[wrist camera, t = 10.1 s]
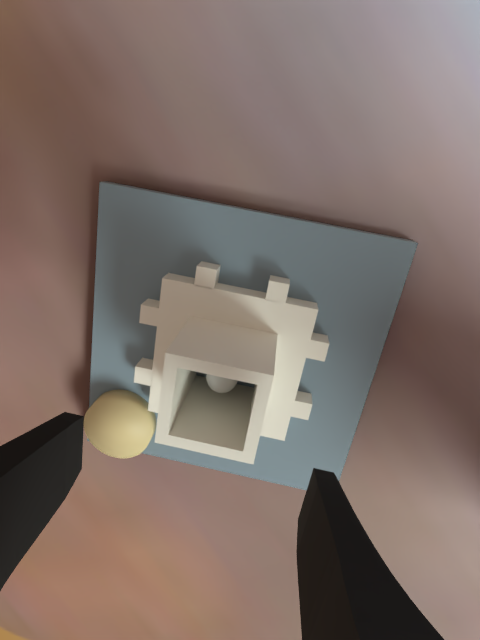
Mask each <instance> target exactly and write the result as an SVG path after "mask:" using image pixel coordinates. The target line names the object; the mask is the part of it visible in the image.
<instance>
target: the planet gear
mask: <svg viewBox="0 0 480 640" xmlns="http://www.w3.org/2000/svg"><path fill="white" fill-rule="evenodd" d="M220 266H221V265H218V264H213V263H208V262H203V261H201V262H200V263H199V264H198V265H197V267H196V274H195V278H192V277H187V276H182V275H177V274H172V273H168V274H167V275H165V276H164V277H163V278H162V285H161V294H160V301H158V300H153V299H147V300H146V301H145V302H143V303H142V304H141V309H140V320H139V323H142V324H147V325H152V326H157V331H156V340H155V349H154V358H153V360H151V359H147V358H142V359H141V360H140V361H139V362H138V364H137V365H136V366H135V375H134V383H139V384H143V385H148V386H150V395H149V404H148V411H151V412H155V413H158V418H157V426H156V434H155V443H159V444H164V445H168V446H173V447H177V448H182V449H186V450H190V451H195V452H199V453H204V454H208V455H213V456H217V457H222V458H226V459H231V460H235V461H239V462H244V463H248V464H254V460H255V456H256V451H257V447H258V443H259V438H260V436H264V437H269V438H273V439H278V440H282V441H285V437H286V433H287V429H288V425H289V421H290V418H291V417H295V418H300V419H304V420H308V419H309V416H310V412H311V408H312V405H313V404H312V394H310V393H306V392H301V391H298V387H299V383H300V379H301V375H302V371H303V368H304V364H305V360H306V358H309V359H314V360H319V361H324V362H325V358H326V355H327V351H328V347H329V340H328V335H323V334H318V333H313V329H314V325H315V321H316V317H317V314H318V305H317V303H315V302H310V301H305V300H300V299H295V298H290V297H287V295H288V290H289V286H290V279H288V278H283V277H278V276H273V275H270V279H269V284H268V288H267V293H266V292H261V291H256V290H251V289H246V288H241V287H236V286H231V285H226V284H221V283H218V279H219V272H220ZM196 372H200V373H205V374H209V375H214V376H219V377H223V378H228V379H233V380H237V381H242V382H247V383H251V384H255V386H254V388H253V387H248V386H243V385H239V384H236V386H235V387H234V388H233V389H232V390H231V391H229V392H226V393H218V392H215V391H213V390H212V389H211V388H210V387H209V385H208V383H207V380H206V377H202V376H197V375H196Z"/></svg>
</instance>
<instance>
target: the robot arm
mask: <svg viewBox="0 0 480 640" xmlns="http://www.w3.org/2000/svg"><path fill="white" fill-rule="evenodd" d="M83 423H84V416H80V415H76V414H71V413H67V412H64V413H62V414H60V415H58V416H56V417H54V418H53V419H51V420H49V421H47V422H45V423H43V424H41V425H40V426H38V427H36V428H34V429H32V430H30V431H29V432H27V433H25V434H23V435H21V436H19V437H17V438H15V439H13V440H11V441H9V442H8V443H6V444H4V445H2V446H0V591H1V589H2V587H3V586H4V584H5V582H6V581H7V579H8V578H9V576H10V575H11V573H12V572H13V571H14V569H15V568H16V566H17V565H18V563H19V562H20V561H21V559H22V558H23V556H24V555H25V554H26V552H27V551H28V550H29V548H30V547H31V545H32V544H33V543H34V541H35V540H36V539H37V537H38V536H39V534H40V533H41V532H42V530H43V529H44V528H45V526H46V525H47V523H48V522H49V521H50V519H51V518H52V516H53V515H54V514H55V512H56V511H57V509H58V508H59V507H60V505H61V504H62V502H63V501H64V500H65V498H66V496H67V494H68V493H69V491H70V489H71V487H72V486H73V484H74V482H75V480H76V478H77V476H78V475H79V473H80V471H81V469H82V447H83ZM297 568H298V584H299V599H300V614H301V629H302V640H444V639H443V638H442V636H441V635H440V634H439V633H438V632H437V631H436V629H435V628H434V627H433V626H432V625H431V624H430V622H429V621H428V620H427V619H426V618H425V616H424V615H423V614H422V613H421V612H420V610H419V609H418V608H417V607H416V605H415V604H414V603H413V602H412V600H411V599H410V598H409V596H408V595H407V594H406V592H405V591H404V590H403V588H402V587H401V586H400V584H399V583H398V582H397V580H396V579H395V577H394V576H393V574H392V573H391V572H390V570H389V569H388V567H387V566H386V564H385V563H384V561H383V559H382V558H381V556H380V555H379V553H378V552H377V550H376V549H375V547H374V545H373V544H372V542H371V540H370V539H369V537H368V535H367V533H366V532H365V530H364V528H363V527H362V525H361V523H360V521H359V520H358V518H357V516H356V514H355V512H354V510H353V509H352V507H351V505H350V503H349V501H348V499H347V497H346V495H345V493H344V491H343V489H342V487H341V485H340V483H339V481H338V479H337V477H336V475H335V474H334V472H330V471H325V470H321V469H316V468H313V471H312V475H311V478H310V481H309V485H308V488H307V491H306V495H305V498H304V501H303V505H302V508H301V511H300V515H299V518H298V533H297Z"/></svg>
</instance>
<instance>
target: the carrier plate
mask: <svg viewBox="0 0 480 640" xmlns="http://www.w3.org/2000/svg"><path fill="white" fill-rule="evenodd" d="M417 245H418V243H417V242H415V241H413V240H409V239H404V238H398V237H393V236H388V235H383V234H378V233H372V232H367V231H362V230H357V229H352V228H346V227H341V226H336V225H331V224H326V223H321V222H315V221H310V220H305V219H300V218H295V217H289V216H284V215H279V214H274V213H269V212H263V211H258V210H253V209H248V208H243V207H237V206H232V205H227V204H222V203H217V202H212V201H206V200H201V199H196V198H191V197H186V196H180V195H175V194H170V193H165V192H160V191H154V190H149V189H144V188H139V187H134V186H128V185H123V184H118V183H113V182H108V181H106V182H100V184H99V206H98V227H97V248H96V269H95V290H94V312H93V333H92V354H91V375H90V397H89V409H88V410H87V412H86V414H85V417H84V430H85V433H86V436H87V438H88V439H87V441H90V442H91V443H92V444H93V445H94V446H95V447H96V448H97V449H98V450H99V451H101V452H102V453H104V454H106V455H109V456H112V457H116V458H131V457H134V456H137V455H139V454H140V453H144V454H148V455H153V456H157V457H162V458H166V459H170V460H175V461H179V462H184V463H188V464H192V465H197V466H201V467H206V468H210V469H215V470H219V471H223V472H228V473H232V474H237V475H241V476H246V477H250V478H254V479H259V480H263V481H268V482H272V483H277V484H281V485H285V486H290V487H294V488H299V489H303V490H307V488H308V485H309V481H310V478H311V475H312V471H313V468H316V469H321V470H325V471H330V472H334V474H335V475H336V477H337V479H338V481H339V479H340V476H341V473H342V470H343V467H344V464H345V461H346V458H347V455H348V452H349V449H350V446H351V443H352V440H353V437H354V434H355V431H356V428H357V425H358V422H359V419H360V416H361V413H362V410H363V407H364V404H365V401H366V398H367V395H368V392H369V389H370V386H371V383H372V380H373V377H374V374H375V371H376V368H377V365H378V362H379V359H380V356H381V353H382V350H383V347H384V344H385V341H386V338H387V335H388V332H389V329H390V326H391V323H392V320H393V317H394V314H395V311H396V308H397V305H398V302H399V299H400V296H401V293H402V290H403V287H404V284H405V281H406V278H407V275H408V272H409V269H410V266H411V263H412V260H413V257H414V254H415V251H416V248H417ZM201 261H203V262H208V263H213V264H218V265H221V266H220V272H219V279H218V283H221V284H226V285H231V286H236V287H241V288H246V289H251V290H256V291H261V292H266V293H267V288H268V284H269V279H270V275H273V276H278V277H283V278H288V279H290V286H289V290H288V295H287V297H290V298H295V299H300V300H305V301H310V302H315V303H317V305H318V314H317V317H316V321H315V325H314V329H313V333H318V334H323V335H328V340H329V347H328V351H327V355H326V358H325V362H324V361H319V360H314V359H309V358H306V360H305V364H304V368H303V371H302V375H301V379H300V383H299V387H298V391H301V392H306V393H310V394H312V404H313V405H312V408H311V412H310V416H309V419H308V420H304V419H300V418H295V417H291V418H290V421H289V425H288V429H287V433H286V437H285V441H282V440H278V439H273V438H269V437H264V436H260V438H259V443H258V447H257V451H256V456H255V460H254V464H248V463H244V462H239V461H235V460H231V459H226V458H222V457H217V456H213V455H208V454H204V453H199V452H195V451H190V450H186V449H182V448H177V447H173V446H168V445H164V444H159V443H155V434H156V426H157V418H158V413H155V412H151V411H148V404H149V395H150V386H148V385H143V384H139V383H134V375H135V366H136V365H137V364H138V362H139V361H140V360H141V359H142V358H147V359H151V360H153V358H154V349H155V340H156V331H157V326H152V325H147V324H142V323H139V320H140V309H141V304H142V303H143V302H145V301H146V300H147V299H153V300H158V301H160V294H161V285H162V278H163V277H164V276H165V275H167V274H168V273H172V274H177V275H182V276H187V277H192V278H195V274H196V267H197V265H198V264H199V263H200V262H201ZM196 375H197V376H202V377H206V380H207V383H208V385H209V387H210V388H211V389H212V390H213V391H215V392H218V393H226V392H229V391H231V390H232V389H233V388H234V387H235V386H236V384H239V385H243V386H248V387H253V388H254V386H255V384H251V383H247V382H242V381H237V380H233V379H228V378H223V377H219V376H214V375H209V374H205V373H200V372H196Z"/></svg>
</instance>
